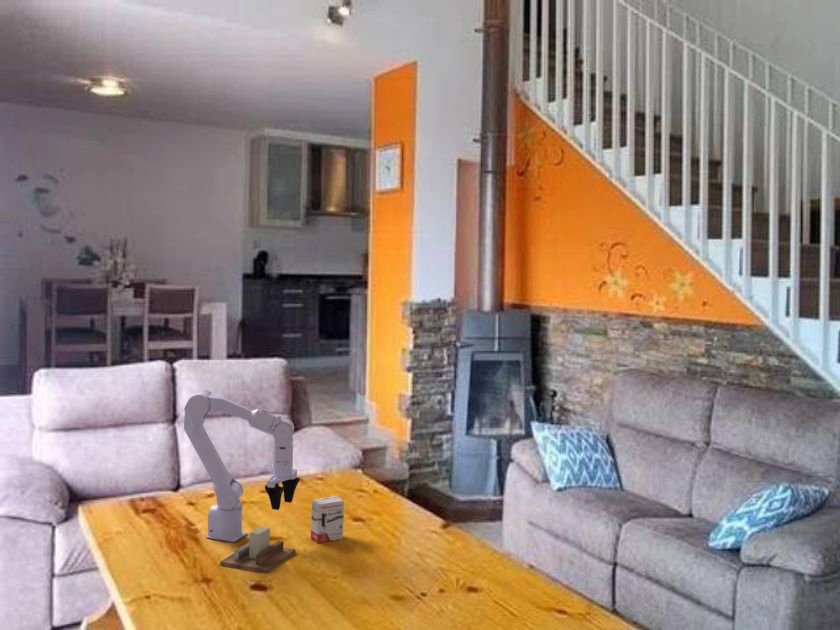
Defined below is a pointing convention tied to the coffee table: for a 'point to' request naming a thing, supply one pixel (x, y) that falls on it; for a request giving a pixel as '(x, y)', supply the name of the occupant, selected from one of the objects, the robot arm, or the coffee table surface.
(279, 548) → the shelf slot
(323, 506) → the ink box
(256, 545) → the white rectangular block
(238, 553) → the grey bar
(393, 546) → the coffee table surface
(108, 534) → the coffee table surface
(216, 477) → the robot arm
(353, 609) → the coffee table surface
